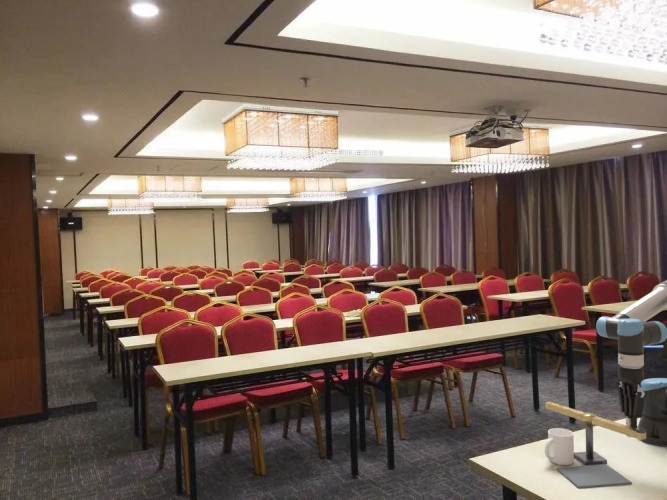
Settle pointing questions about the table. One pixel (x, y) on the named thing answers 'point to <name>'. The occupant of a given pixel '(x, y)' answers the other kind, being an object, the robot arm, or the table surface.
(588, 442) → the lever post
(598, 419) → the lever
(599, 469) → the felt mat
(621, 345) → the robot arm
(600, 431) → the table surface
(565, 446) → the mug
